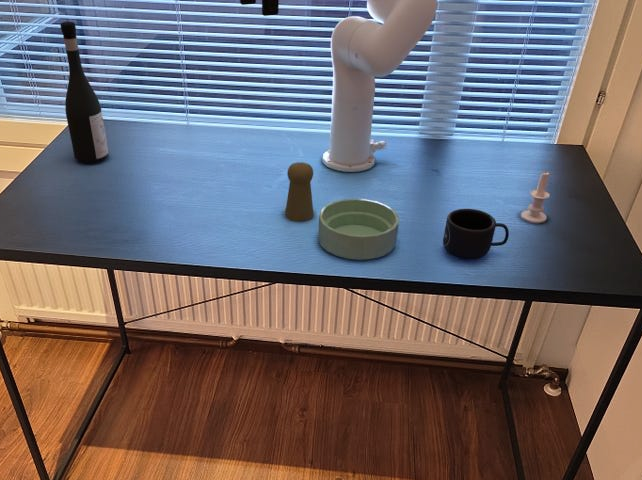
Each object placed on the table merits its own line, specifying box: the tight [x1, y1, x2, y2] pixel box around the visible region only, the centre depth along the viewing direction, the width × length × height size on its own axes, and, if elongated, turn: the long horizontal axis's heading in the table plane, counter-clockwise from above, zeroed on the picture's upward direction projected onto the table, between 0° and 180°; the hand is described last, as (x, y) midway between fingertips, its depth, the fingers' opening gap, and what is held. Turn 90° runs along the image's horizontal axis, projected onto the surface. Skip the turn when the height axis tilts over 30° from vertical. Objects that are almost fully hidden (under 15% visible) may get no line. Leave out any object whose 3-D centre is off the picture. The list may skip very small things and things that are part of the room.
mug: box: [442, 208, 510, 261], centre depth 126 cm, size 12×9×7 cm
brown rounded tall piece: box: [284, 161, 315, 223], centre depth 136 cm, size 6×6×11 cm
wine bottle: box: [60, 21, 109, 165], centre depth 150 cm, size 8×8×30 cm
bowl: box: [317, 198, 400, 261], centre depth 129 cm, size 15×15×6 cm
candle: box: [520, 171, 550, 225], centre depth 136 cm, size 5×5×10 cm
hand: (258, 9), depth 128 cm, fingers open, 9 cm apart
